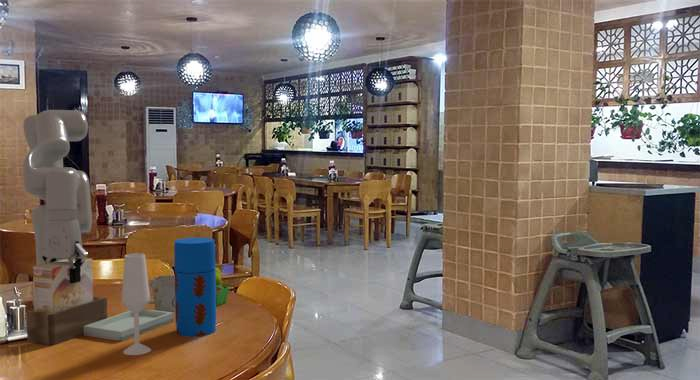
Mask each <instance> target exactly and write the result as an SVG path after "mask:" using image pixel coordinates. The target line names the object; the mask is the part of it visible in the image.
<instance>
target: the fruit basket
mask: <svg viewBox="0 0 700 380" xmlns="http://www.w3.org/2000/svg"><path fill="white" fill-rule="evenodd" d="M215 269H216V307H218V306H221V305H223V304H225V303H227V299H228V296H229V295H228V294H229V292H230V289H231V286H227V285H221V283H222V272H221V270H220V268H219V266H216V268H215Z"/></svg>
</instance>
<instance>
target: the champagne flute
mask: <svg viewBox="0 0 700 380" xmlns="http://www.w3.org/2000/svg"><path fill="white" fill-rule="evenodd" d="M123 261H124V263H123V274H122V287H121V289H122V290H121V303H122V304H123V305H124V307H125V308H126V309H127V310H128V311H131V312H133V313H134V337H133V338H134V343H133V344H131V345H130V346H129V347H127V348H125V349H124V350H123V351H122V353H123V354H124V355H127V356H128V355H129V356H139V355H144V354H147V353H149V352H151V351H152V348H150V347H149V346H147V345H144V344H142V343H140V334H139V312H140V311H141V310H142V309H145V307H147V305H149V303H148V302H149V301H151V295H150V286H149V285H148V282H149V278H148V277H149V276H148V270H147V261H146V254H145V253H129V254H125V255H124V260H123Z"/></svg>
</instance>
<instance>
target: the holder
mask: <svg viewBox="0 0 700 380" xmlns="http://www.w3.org/2000/svg"><path fill="white" fill-rule="evenodd" d="M107 303H108V298H107V297H101V296H93V301H92V302H88V303H85V304H82V305H78V306H75V307H71V308H68V309H65V310H61V311H58V312H55V313H51V314H50V313H44V312H37V311H34V310H26V311H25V312H26V313H25V315H26V336H27V337H26V338H27V340H26V341H27V343H32V344H38V345H45V346H50V347H52V346H55V345H58V344H60V343H61V344H62V343H64V342H67V341H70V340H73V339H75V338H76V339H77V338H78V337H80V336H85V335H84V326H85V325H88V324H91V323H94V322H97V321H100V320H103V319H106V318H108V304H107Z"/></svg>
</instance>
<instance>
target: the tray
mask: <svg viewBox="0 0 700 380" xmlns="http://www.w3.org/2000/svg"><path fill="white" fill-rule="evenodd" d="M171 322H172V323H173V322H174V311H173V312H165V311H157V310H156V309H150V308H149V309H148V308H143V309H142V310H141V311H140V312H139V335H141V334H145V333H147V332H150V331H151V330H155V329H157V328H159V327H162V326H165V325H167V324H170V323H171ZM83 336H87V337H93V338H99V339H106V340H111V341H112V340H113V341H118V342H123V341H126V340H128V339H132V338H134V313H133V312H131V311H130V310H128V311H125V312H121V313H118V314H116V315H113V316H110V317H107V318H106V319H103V320H100V321H97V322H94V323H91V324H88V325H85V326H84V335H83Z"/></svg>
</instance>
